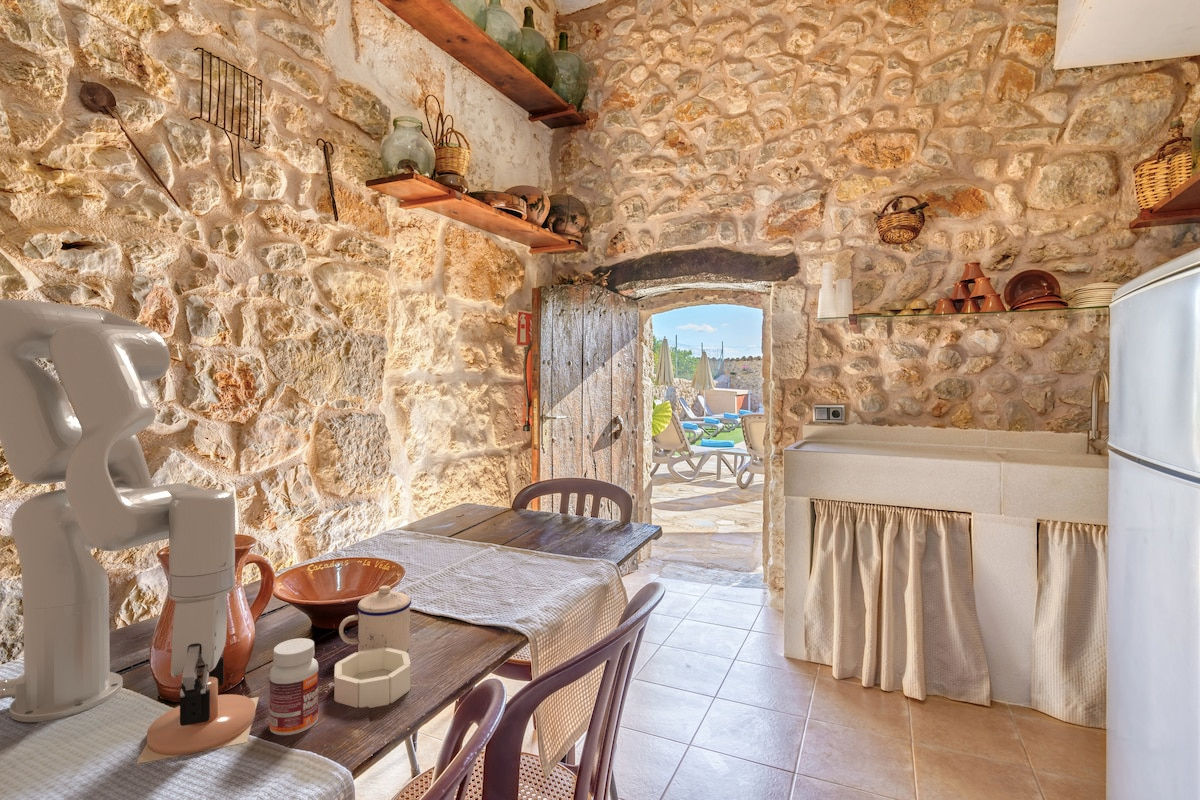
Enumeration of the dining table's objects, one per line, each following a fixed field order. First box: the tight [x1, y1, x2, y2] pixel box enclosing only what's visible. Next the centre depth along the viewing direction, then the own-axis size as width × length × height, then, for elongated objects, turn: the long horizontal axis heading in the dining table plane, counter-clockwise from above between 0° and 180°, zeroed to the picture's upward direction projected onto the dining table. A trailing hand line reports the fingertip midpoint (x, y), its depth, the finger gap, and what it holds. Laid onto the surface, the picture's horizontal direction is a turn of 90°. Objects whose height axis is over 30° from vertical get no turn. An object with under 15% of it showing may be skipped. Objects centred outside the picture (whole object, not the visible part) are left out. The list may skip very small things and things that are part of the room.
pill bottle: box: [268, 637, 319, 736], centre depth 83 cm, size 6×6×11 cm
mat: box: [136, 696, 260, 765], centre depth 82 cm, size 12×12×1 cm
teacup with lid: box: [338, 585, 412, 653], centre depth 105 cm, size 12×9×12 cm
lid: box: [146, 677, 256, 756], centre depth 82 cm, size 12×12×6 cm
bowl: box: [333, 647, 412, 709], centre depth 93 cm, size 11×11×4 cm
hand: (203, 703), depth 82 cm, fingers open, 9 cm apart
